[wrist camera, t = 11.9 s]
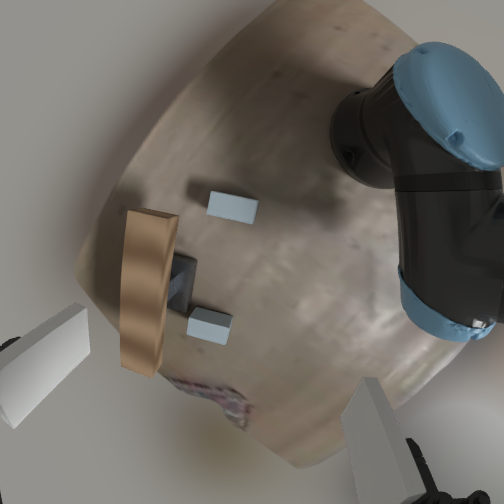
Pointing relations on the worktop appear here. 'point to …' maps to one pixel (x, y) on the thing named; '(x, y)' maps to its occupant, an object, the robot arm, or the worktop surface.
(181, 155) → the worktop surface
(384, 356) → the worktop surface
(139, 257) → the plank
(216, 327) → the posts
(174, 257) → the fulcrum
